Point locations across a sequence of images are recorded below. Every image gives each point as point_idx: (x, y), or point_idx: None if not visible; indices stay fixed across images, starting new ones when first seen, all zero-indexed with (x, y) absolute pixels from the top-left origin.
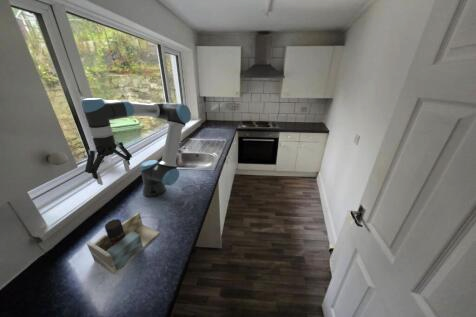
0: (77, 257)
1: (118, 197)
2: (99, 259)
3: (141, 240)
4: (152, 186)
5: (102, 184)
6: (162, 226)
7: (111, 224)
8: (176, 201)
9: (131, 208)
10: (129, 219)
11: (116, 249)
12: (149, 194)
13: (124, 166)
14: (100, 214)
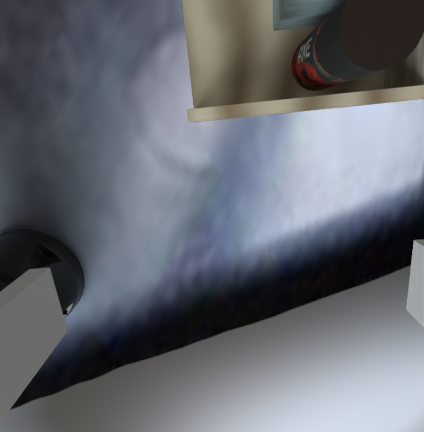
0: (401, 169)
1: (157, 351)
2: None
3: (252, 22)
4: (22, 272)
5: (422, 241)
6: (148, 24)
7: (388, 28)
8: (4, 119)
9: (163, 249)
10: (244, 106)
11: None
12: (65, 259)
13: (18, 391)
14: (248, 310)
